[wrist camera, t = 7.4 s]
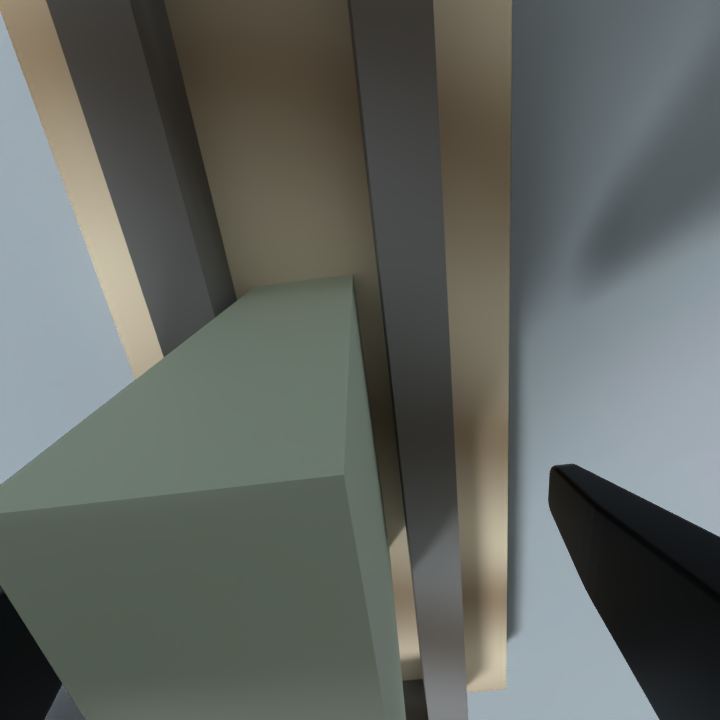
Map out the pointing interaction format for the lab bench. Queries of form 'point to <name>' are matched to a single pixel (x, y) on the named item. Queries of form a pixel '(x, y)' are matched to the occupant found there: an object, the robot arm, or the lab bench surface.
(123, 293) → the track
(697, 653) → the robot arm
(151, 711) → the door panel
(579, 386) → the lab bench surface
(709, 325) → the lab bench surface
